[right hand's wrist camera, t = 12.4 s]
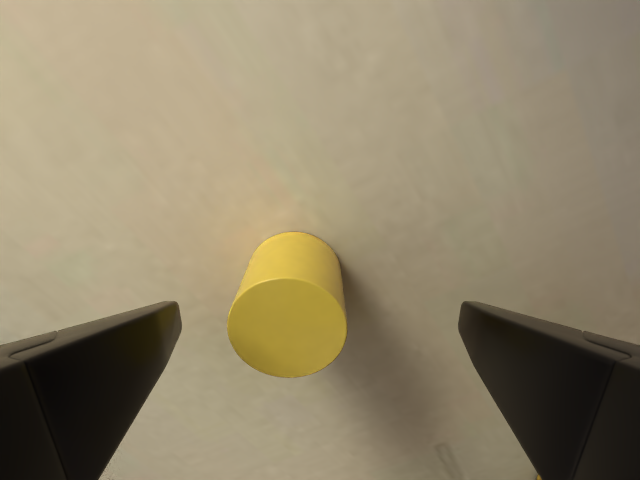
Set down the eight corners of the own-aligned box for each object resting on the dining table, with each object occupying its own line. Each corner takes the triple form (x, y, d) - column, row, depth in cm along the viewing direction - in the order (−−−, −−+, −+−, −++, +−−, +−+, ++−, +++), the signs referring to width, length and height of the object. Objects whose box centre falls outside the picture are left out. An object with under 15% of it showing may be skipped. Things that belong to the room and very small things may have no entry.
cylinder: (356, 290, 17) (367, 350, 13) (279, 326, 17) (267, 394, 14) (312, 214, 15) (310, 256, 11) (230, 258, 16) (202, 310, 12)
